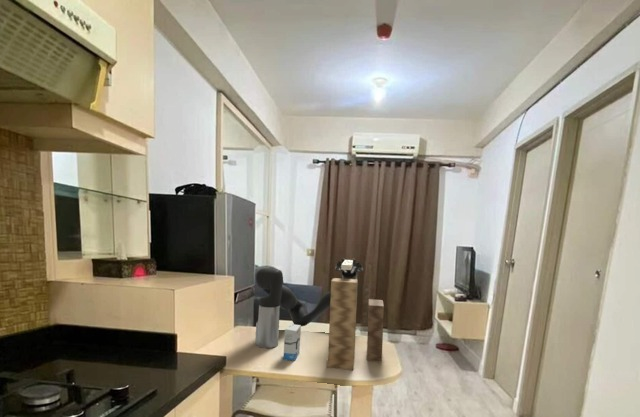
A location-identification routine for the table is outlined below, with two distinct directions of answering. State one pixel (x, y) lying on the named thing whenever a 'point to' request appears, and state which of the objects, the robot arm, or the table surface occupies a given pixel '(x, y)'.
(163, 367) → the table surface
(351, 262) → the long ivory domino tile
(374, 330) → the walnut post
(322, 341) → the table surface
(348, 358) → the oak post
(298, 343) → the ink box
